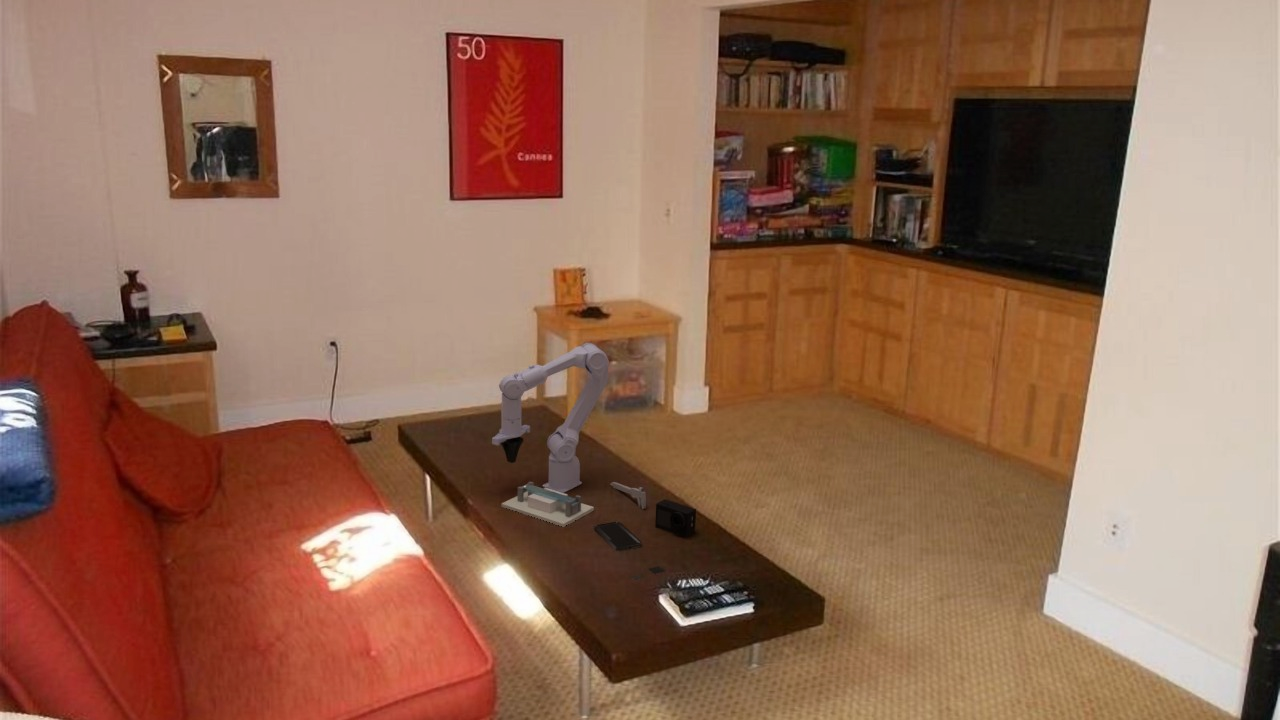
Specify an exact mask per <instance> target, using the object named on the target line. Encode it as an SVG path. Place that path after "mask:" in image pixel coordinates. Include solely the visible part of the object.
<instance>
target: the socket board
mask: <svg viewBox="0 0 1280 720" xmlns="http://www.w3.org/2000/svg"><path fill="white" fill-rule="evenodd" d="M528 483H529V484H530V485H534V486H535V483H534V482H533V481H528V482H527V484H528ZM543 489H546V490H549V491H553V492H556V493H559V494H562V495H565V496H568V497H569V495H568V494H567V493H565V492H564V493H561V492H558V491H555V490H551V489H548V488H545V487H543ZM574 498H575V499H577V502H575V503H573V504H571V501H568V500H567V501H566V504H565V503H562V502H558V501H555V500H552V499H549V498H546V497H543V496H540V495H537V494H533V493H530V492H527V491H524V488H523V487H522V486H518V487H517V495H516V496H515V497H512V498H510V499H508V500H506V501H503V502H502V503H501V508H503V509H506V508H507V509H506V510H509V509H510V511H512V510H513V512H515V511H517V512H516V513H518V512H519V514H521V513H522V514H521V515H524V516H528V515H529V516H528V517H531V516H532V518H534V517H535V518H534V519H537V518H538V519H537V520H540V519H541V520H540V521H543V520H544V521H543V522H546V521H547V522H546V523H549V522H550V524H552V523H553V524H552V525H555V526H558V525H559V527H561V526H562V527H561V528H565V527H566V525H567V526H569V525H571V524H572V523H574V522H576V521H578V520H579V519H581V518H583V517H585V516H586V515H588V514H590V513H592V512H593V511H595V510H594V509H595V506H592V505H588V504H585V503H582V496H580V495H577V494H576V495H575V497H574ZM575 520H576V521H575ZM568 524H569V525H568Z"/></svg>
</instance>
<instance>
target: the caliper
mask: <svg viewBox="0 0 1280 720" xmlns="http://www.w3.org/2000/svg"><path fill="white" fill-rule="evenodd" d="M609 485H610V486H611V487H612V486H613V489H616V490H619V491H622V492H624V493H627V494H629V495H631V498H633V499H637V500H636V501H637V504H638V508H641V509H642V510H644V509H646V508H647V506H646V505H647V496H646V495H647V494H646V491H645V487H641V486H640V487H638V488H636V487H630V486H626V485H623V484H621V483H619V482H616V481H614V482H613V481H612V482H610V484H609Z"/></svg>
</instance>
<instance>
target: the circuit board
mask: <svg viewBox="0 0 1280 720" xmlns="http://www.w3.org/2000/svg"><path fill="white" fill-rule="evenodd" d="M648 571H650V572H651V573H652V574H654V575H658V574H661V573H663V572H664V573H665V572H666V571H665V570H664V569H663V568H662V567H660V566H659V565H657V566H654V567H651V568H648ZM630 577H631V578H633V579H634V580H641V579H643V577H642V576H640V575H639V574H634V575H631V576H630Z"/></svg>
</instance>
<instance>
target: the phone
mask: <svg viewBox="0 0 1280 720" xmlns="http://www.w3.org/2000/svg"><path fill="white" fill-rule="evenodd" d="M593 530H594V531H595V532H596V533H597V534H598V535H599V536H600V537H601V538H602V539H603V540H604V541H605V542H606V543H607V544H608V545H609V546H610V547H611V548H612V549H613V550H614V551H617V552H623V551H626V550H631V549H636V548H641V547H642V546H643V541H641V540H640V539H639V538H638V537H637V536H636V535H635V534H634V533H633V532H631V531H630V530H629V528H627V527H626V526H625V525H624V524H623V523H622V522H621V521H613V522H611V521H610V522H607V523H601V524H596V525H594V529H593Z"/></svg>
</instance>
